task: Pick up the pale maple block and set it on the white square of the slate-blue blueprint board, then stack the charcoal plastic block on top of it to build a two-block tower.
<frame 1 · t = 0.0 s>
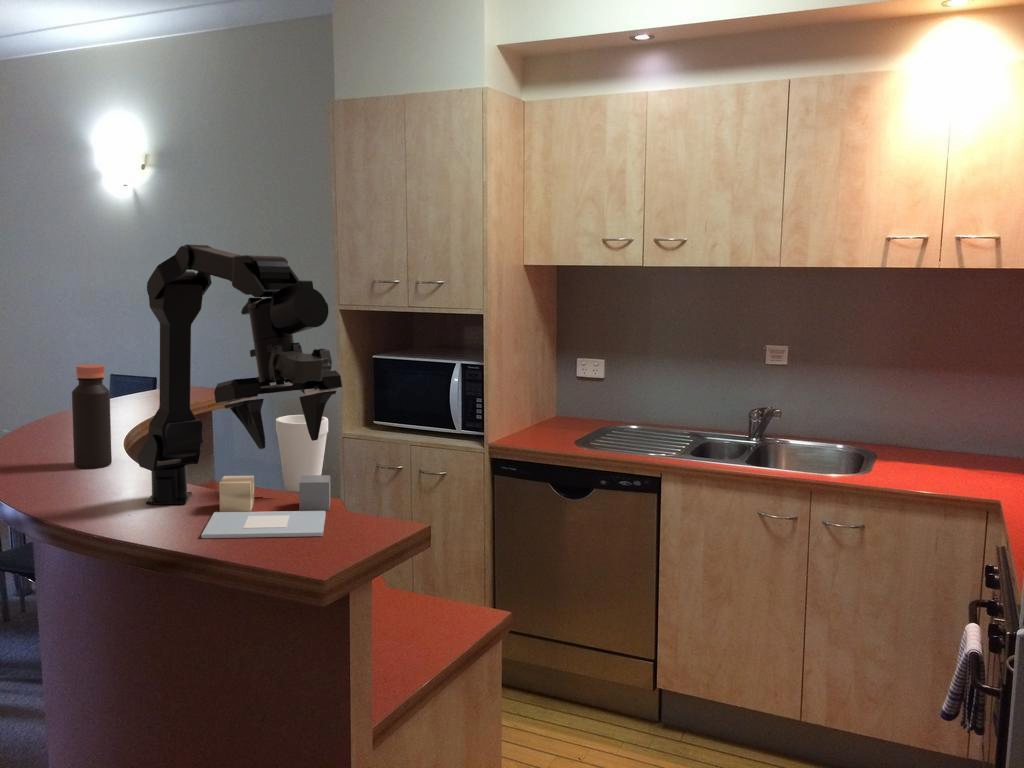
hand: (289, 444, 130), 15 cm above the table, tool pointing down, fingers open, 9 cm apart
maple block: (237, 507, 151), on the table
bottle: (93, 466, 177), on the table
foam cup: (302, 488, 166), on the table
charcoal block: (315, 506, 153), on the table
blueprint board: (266, 525, 141), on the table
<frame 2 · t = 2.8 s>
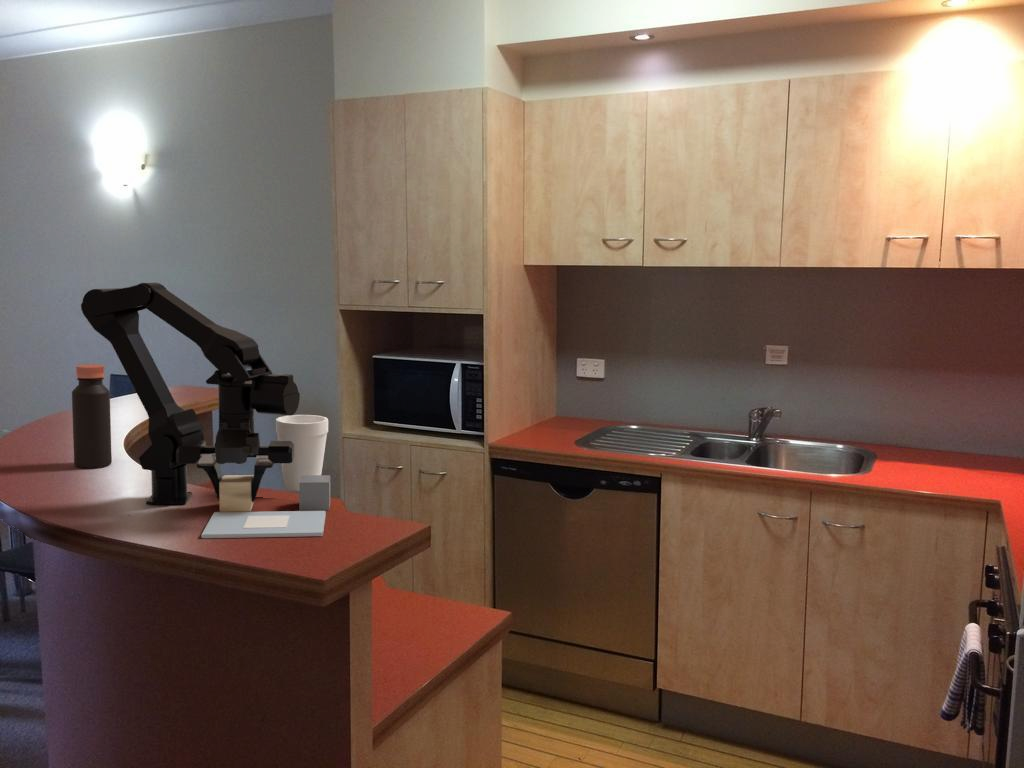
hand: (237, 501, 151), 1 cm above the table, tool pointing down, fingers closed on maple block, 5 cm apart
maple block: (237, 507, 151), on the table, touching gripper
everything else where it was.
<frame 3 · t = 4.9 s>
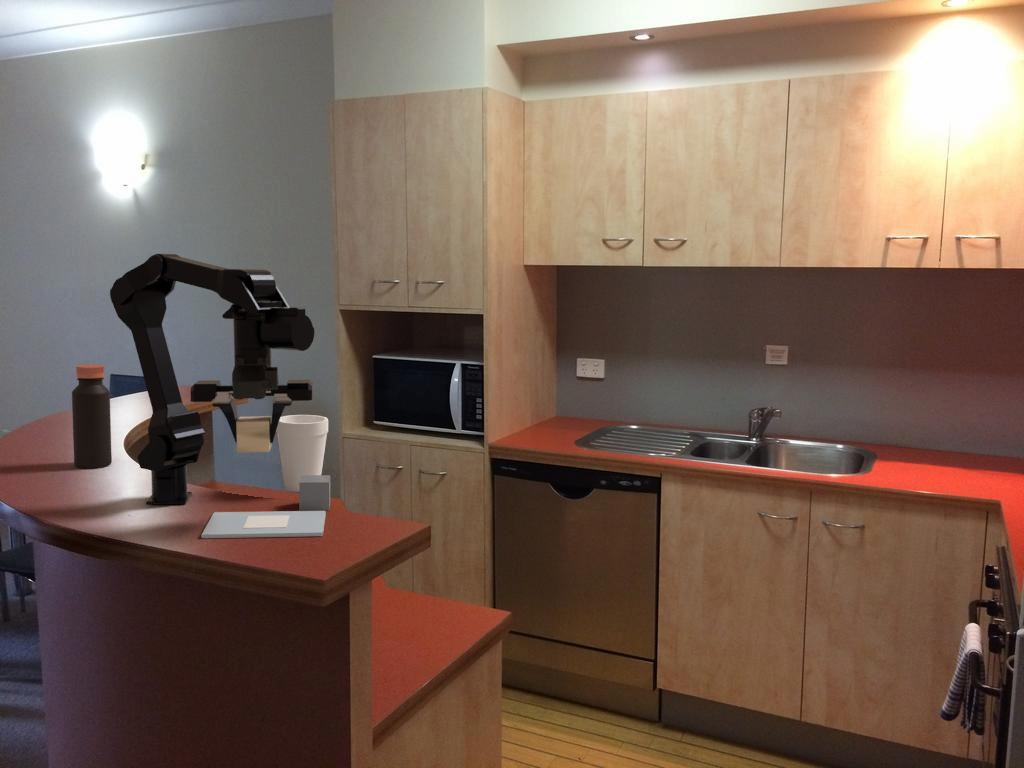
hand: (254, 443, 144), 12 cm above the table, tool pointing down, fingers closed on maple block, 5 cm apart
maple block: (254, 449, 144), point 11 cm above the table, touching gripper
everything else where it was.
when the fingers open (3 cm above the table, at t = 7.3 s): maple block drops 1 cm, resting on blueprint board.
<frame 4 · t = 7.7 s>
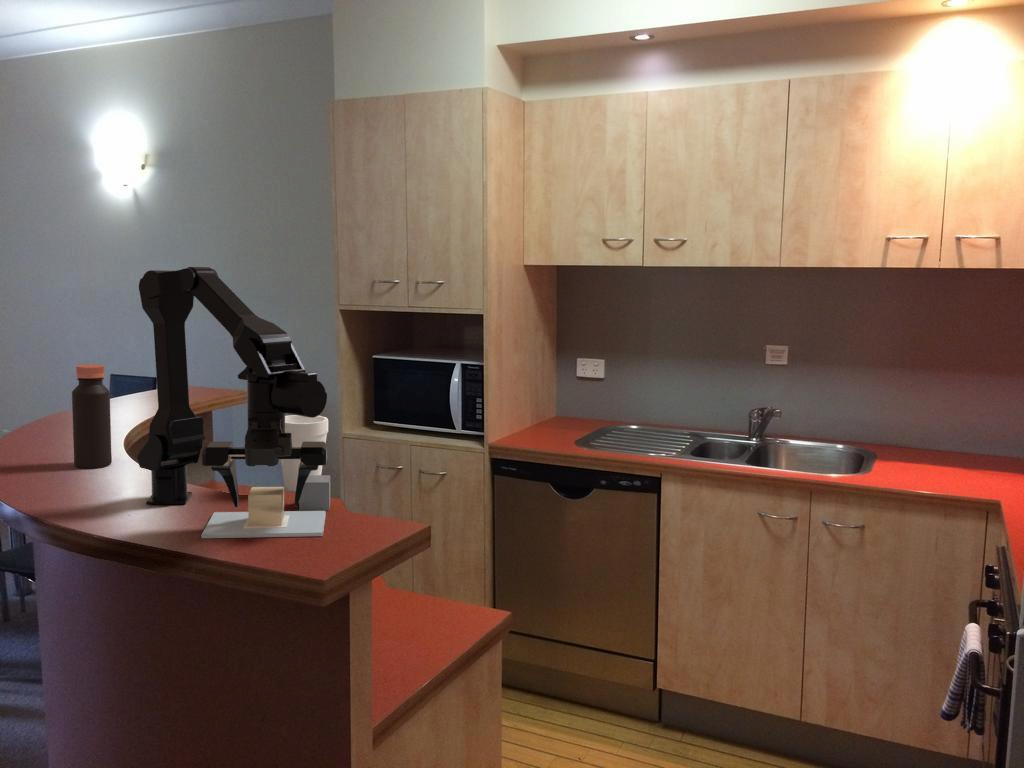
hand: (266, 506, 141), 3 cm above the table, tool pointing down, fingers open, 9 cm apart
maple block: (266, 521, 141), point 1 cm above the table, touching blueprint board
everything else where it was.
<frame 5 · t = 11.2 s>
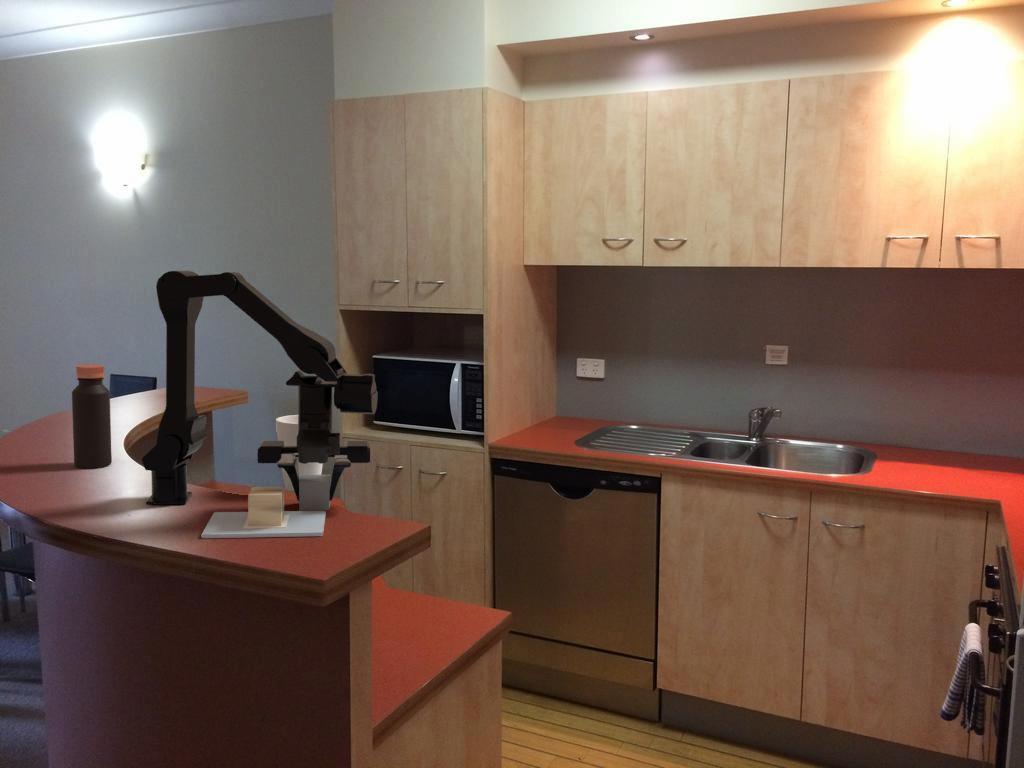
hand: (315, 500, 153), 1 cm above the table, tool pointing down, fingers closed on charcoal block, 5 cm apart
charcoal block: (314, 506, 153), on the table, touching gripper
everything else where it was.
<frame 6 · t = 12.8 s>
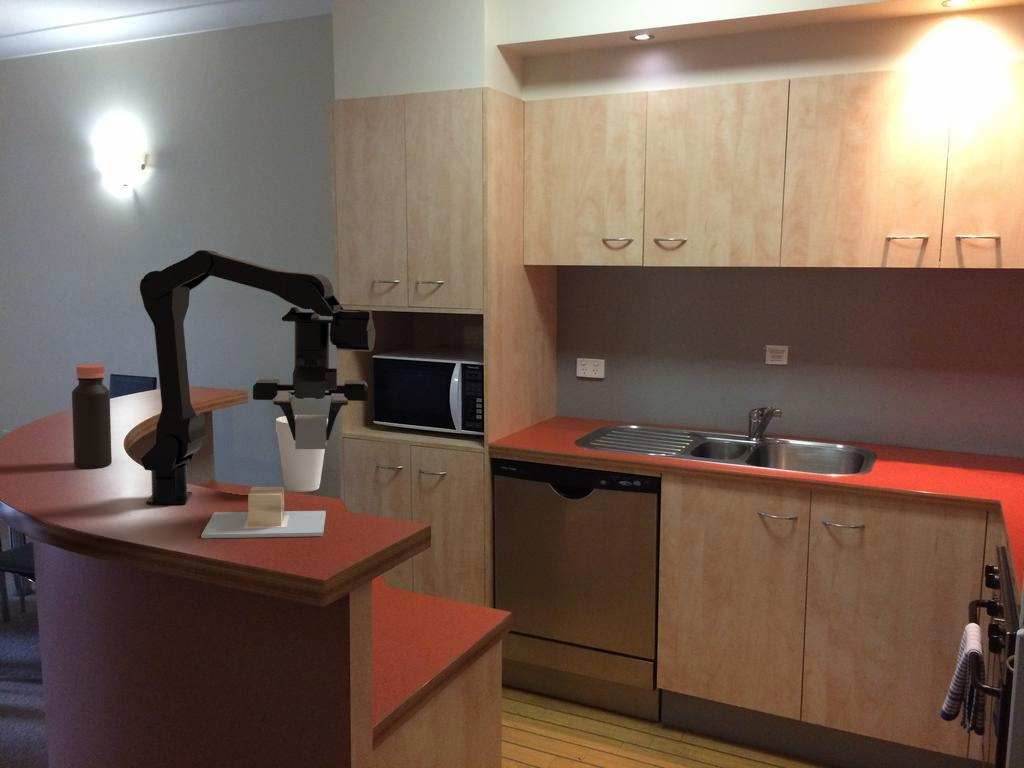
hand: (311, 440, 151), 12 cm above the table, tool pointing down, fingers closed on charcoal block, 5 cm apart
charcoal block: (311, 446, 151), point 11 cm above the table, touching gripper
everything else where it was.
when the fingers open (8 cm above the table, at t = 14.6 s): charcoal block drops 1 cm, resting on maple block.
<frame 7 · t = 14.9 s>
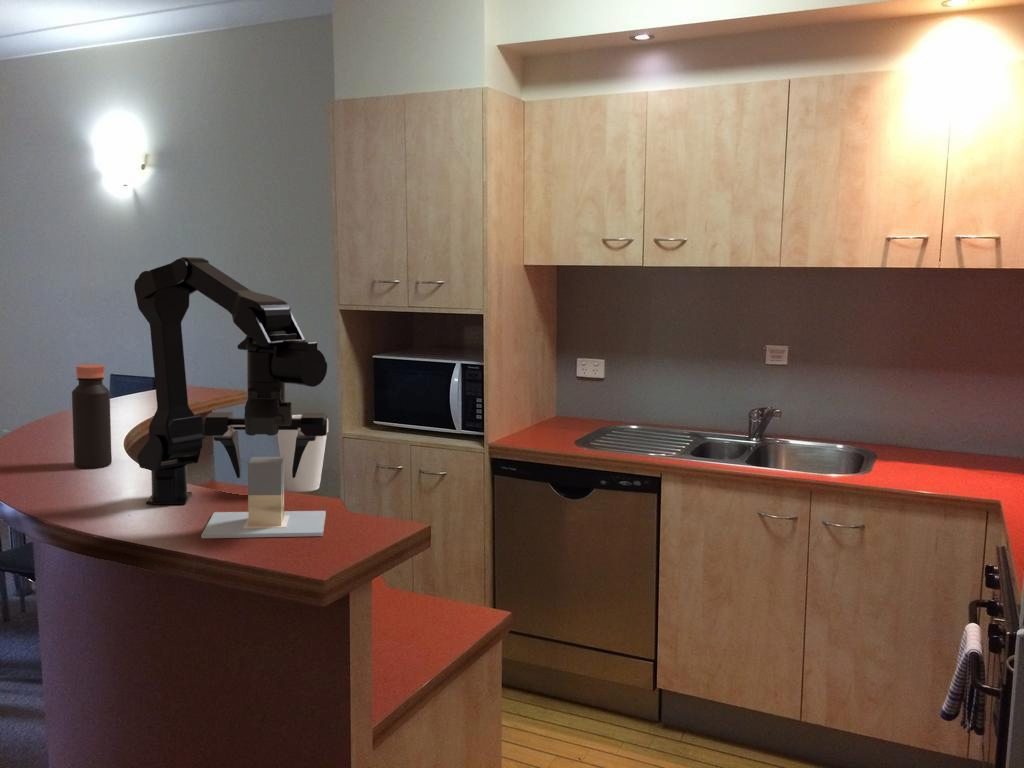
hand: (266, 477, 140), 8 cm above the table, tool pointing down, fingers open, 8 cm apart
maple block: (266, 521, 141), point 1 cm above the table, touching blueprint board, charcoal block
charcoal block: (266, 491, 141), point 6 cm above the table, touching maple block
everything else where it was.
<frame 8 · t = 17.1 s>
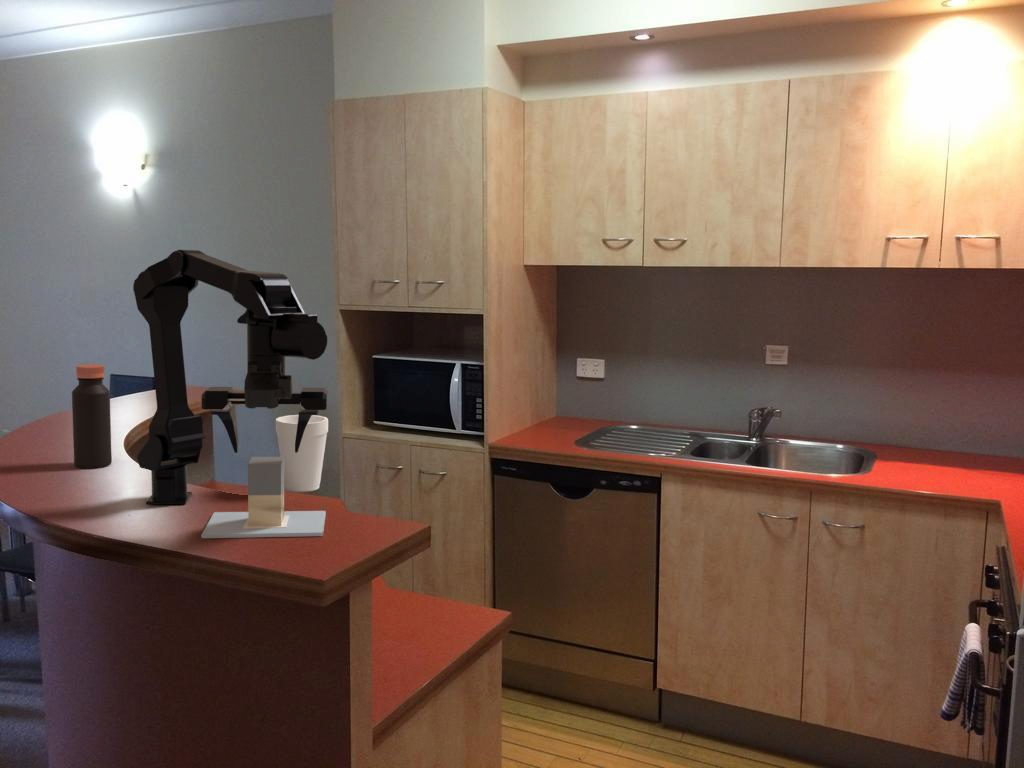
hand: (266, 452, 140), 12 cm above the table, tool pointing down, fingers open, 9 cm apart
nothing on the table moved.
at the end: maple block 0.1 cm off-centre on the blueprint board, point 0.7 cm above the blueprint board's base; charcoal block 0.1 cm from the maple block (horizontally); charcoal block point 5.7 cm above the table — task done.
